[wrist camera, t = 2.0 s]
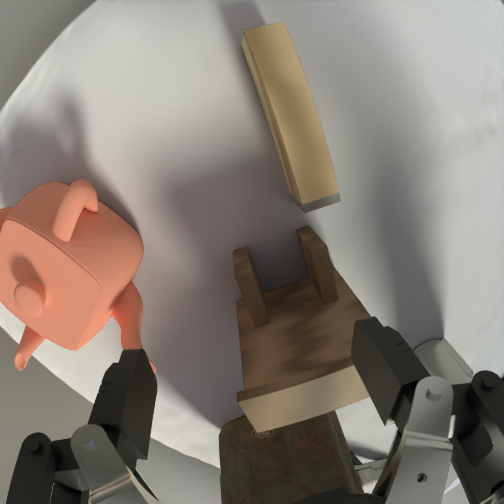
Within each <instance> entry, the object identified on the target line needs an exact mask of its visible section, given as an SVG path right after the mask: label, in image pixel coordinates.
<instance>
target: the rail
mask: <svg viewBox="0 0 504 504" xmlns="http://www.w3.org/2000/svg"><path fill="white" fill-rule="evenodd" d="M241 49H242V52H243V54H244V57H245V60H246V62H247V65H248V68H249V70H250V73H251V76H252V79H253V81H254V84H255V87H256V90H257V93H258V95H259V98H260V101H261V104H262V107H263V110H264V113H265V116H266V119H267V122H268V125H269V128H270V131H271V134H272V137H273V140H274V143H275V146H276V149H277V152H278V155H279V158H280V162H281V165H282V168H283V171H284V174H285V178H286V181H287V184H288V188H289V191H290V194H291V198H292V201H293V202H294V203H295V204H296V205H297V206H298V207H299V208H300V209H301V210H302V211H303V212H304V213H306V212H310V211H313V210H316V209H319V208H322V207H325V206H328V205H331V204H334V203H337V202H340V201H341V199H340V194H339V190H338V186H337V182H336V178H335V174H334V170H333V166H332V162H331V159H330V155H329V151H328V148H327V144H326V141H325V137H324V134H323V130H322V127H321V124H320V120H319V117H318V114H317V111H316V107H315V104H314V101H313V98H312V95H311V92H310V89H309V86H308V83H307V80H306V78H305V75H304V72H303V69H302V66H301V64H300V61H299V58H298V55H297V53H296V50H295V48H294V45H293V42H292V40H291V37H290V35H289V32H288V30H287V28H286V25H285V23H284V22H280V23H274V24H269V25H265V26H260V27H256V28H251V29H247V30H244V32H243V37H242V42H241Z"/></svg>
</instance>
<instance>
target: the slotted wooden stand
mask: <svg viewBox="0 0 504 504" xmlns="http://www.w3.org/2000/svg"><path fill="white" fill-rule="evenodd" d="M296 232H297V235H298V239H299V243H300V246H301V250H302V254H303V257H304V261H305V265H306V268H307V272H308V276H309V277H308V278H305V279H302V280H300V281H297V282H294V283H291V284H288V285H285V286H282V287H279V288H276V289H273V290H270V291H267V292H264V293H263V291H262V288H261V285H260V282H259V280H258V277H257V274H256V271H255V269H254V266H253V263H252V260H251V257H250V255H249V252H248V249H247V247H244V248H241V249H238V250H235V251H233V255H234V267H235V277H236V280H237V282H238V285H239V287H240V290H241V292H242V295H243V297H244V299H242V300H239V301H236V304H237V315H238V327H239V338H240V349H241V360H242V370H243V380H244V391H240V392H237V402H238V404H239V406H240V407H241V409H242V410H243V412H244V413H245V415H246V416H247V418H248V420H249V421H250V423H251V424H252V426H253V427H254V429H255V430H256V432H257V433H259V432H263V431H267V430H271V429H275V428H279V427H282V426H286V425H290V424H293V423H296V422H300V421H303V420H306V419H310V418H313V417H316V416H319V415H322V414H325V413H328V412H331V411H333V410H336V409H339V408H342V407H344V406H347V405H350V404H352V403H355V402H357V401H360V400H362V399H365V398H367V397H370V395H369V393H368V391H367V389H366V387H365V386H364V384H363V382H362V380H361V378H360V376H359V374H358V372H357V370H356V368H355V366H354V364H353V361H352V357H351V346H352V339H353V332H354V324H355V321H356V320H359V319H364V318H368V317H371V316H370V314H369V313H368V312H367V310H366V309H365V307H364V306H363V305H362V303H361V302H360V301H359V299H358V298H357V297H356V295H355V294H354V293H353V291H352V290H351V289H350V287H349V286H348V285H347V283H346V282H345V281H344V279H343V278H342V277H341V275H340V274H339V273H338V271H337V270H336V269H335V268H334V269H332V266H331V262H330V257H329V253H328V248H327V245H326V244H325V243H324V242H323V241H322V240H321V239H320V237H319V236H318V235H317V234H316V233H315V232H314V231H313V229H312V228H311V227H310V226H306V227H303V228H300V229H297V230H296Z"/></svg>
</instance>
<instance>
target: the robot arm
mask: <svg viewBox="0 0 504 504" xmlns="http://www.w3.org/2000/svg"><path fill="white" fill-rule="evenodd" d="M351 357H352V361H353V364H354V366H355V368H356V370H357V372H358V374H359V376H360V378H361V380H362V382H363V384H364V386H365V387H366V389H367V391H368V393H369V395H370V397H371V399H372V401H373V403H374V405H375V407H376V409H377V411H378V413H379V415H380V417H381V419H382V421H383V423H384V425H385V426H387V425H390V424H393V423H395V424H396V426H397V430H396V432H395V436H394V439H393V442H392V445H391V448H390V451H389V454H388V457H387V460H386V463H385V466H384V468H383V471H382V473H381V476H380V478H379V479H378V481H377V483H376V485H375V488H374V490H373V492H372V494H369V493H361V492H348V489H347V486H345V487H341V488H338V489H334V490H330V491H326V492H322V493H318V494H313V495H311V496H309V497H306V498H304V499H302V500H299V501H297V502H295V503H292V504H441V501H442V497H443V493H444V489H445V485H446V481H447V477H448V472H449V467H450V462H452V465H453V467H454V469H455V471H456V473H457V475H458V477H459V479H460V482H461V484H462V486H463V488H464V491H465V493H466V496H467V498H468V501H469V503H470V504H504V382H503V381H502V380H501V378H500V377H499V376H498V375H497V374H495V373H494V372H491V371H487V370H484V371H480V372H478V373H476V374H475V375H474V376H473V374H474V373H473V371H472V369H471V368H470V367H469V366H468V364H467V363H466V362H465V361H464V360H463V359H462V357H461V356H460V355H459V354H458V353H457V352H456V350H455V349H454V348H453V347H452V346H451V345H450V344H449V342H448V341H447V340H446V339H445V338H443V339H441V340H436V339H435V340H430V341H427V342H425V343H423V344H421V345H420V346H418V347H417V348H416V349H415V350H411V348H410V346H409V345H408V344H407V343H406V341H405V340H404V339H403V337H402V336H401V335H400V333H399V332H397V331H396V330H394V329H392V328H391V327H389V326H386V327H383V326H382V324H381V323H380V322H379V320H378V319H377V318H376V317H375V316H373V317H368V318H364V319H359V320H356V321H355V324H354V332H353V339H352V346H351ZM472 377H473V378H472ZM101 383H102V385H100V388H99V393H98V394H97V397H96V400H95V403H94V406H93V410H92V412H91V415H90V418H89V421H88V424H87V425H84V426H82V427H80V428H78V429H77V430H76V431H75V432H74V433H73V435H72V437H71V438H69V439H62V440H56V441H51V440H50V439H49V438H48V436H47V435H45V434H43V433H39V432H37V433H33V434H30V435H29V436H28V437H27V438H26V439H25V440H24V441H23V443H22V446H21V449H20V452H19V455H18V459H17V462H16V465H15V469H14V472H13V476H12V480H11V484H10V488H9V492H8V496H7V501H6V504H88V499H89V498H90V501H91V503H92V504H163V503H162V502H161V500H160V499H159V498H158V497H157V495H156V494H155V493H154V492H153V490H152V489H151V487H150V486H149V485H148V483H147V482H146V481H145V479H144V478H143V477H142V475H141V474H140V472H139V471H138V470H137V468H136V461H137V459H145V460H147V456H148V449H149V441H150V434H151V427H152V420H153V413H154V407H155V401H156V395H157V380H156V376H155V374H154V372H153V369H152V367H151V365H150V362H149V360H148V358H147V355H146V353H145V351H144V349H124V350H123V351H122V354H121V357H120V360H119V363H113V364H112V365H111V366H110V367H109V368H108V369H107V371H106V372H105V374H104V377H103V380H102V382H101ZM492 442H493V443H492ZM53 483H54V485H53ZM52 486H53V490H52ZM89 490H91V491H92V495H90V496H89ZM51 492H52V496H51ZM50 497H51V502H50Z"/></svg>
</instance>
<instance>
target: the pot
mask: <svg viewBox="0 0 504 504" xmlns="http://www.w3.org/2000/svg"><path fill="white" fill-rule="evenodd" d="M143 252H144V246H143V242H142V239H141V237H140V236H139V234H138V233H137V232H136V231H135V230H134V229H133V228H132V227H131V226H130V225H129V224H128V223H127V222H126V221H124V220H123V219H122V218H121V217H120V216H119V215H117V214H116V213H115V212H114V211H113V210H111V209H110V208H109V207H107V206H106V205H105V204H103V203H102V202H100V201H99V200H98V199H97V193H96V191H95V188H94V187H93V185H92V184H91V183H89V182H88V181H86V180H82V179H79V180H76V181H74V182H73V183H72V184H71V185H70V186H69V185H66V184H64V183H61V182H47V183H44V184H42V185H40V186H38V187H37V188H35V189H34V190H32V191H31V192H29V193H28V194H27V195H25V196H24V197H23V198H22V199H21V200H20V201H19V202H18V203H17V204H16V206H15V207H7V208H3V209H0V302H1V303H2V304H3V305H4V306H5V307H6V308H7V309H8V310H9V311H10V312H11V313H13V314H14V315H15V316H16V317H17V318H18V319H20V320H21V321H22V322H23V323H24V324H26V327H25V330H24V333H23V336H22V339H21V341H20V344H19V346H18V349H17V351H16V354H15V366H16V368H17V369H18V370H23V369H24V368H25V366H26V364H27V362H28V360H29V358H30V356H31V355H32V353H33V352H34V351H35V349H36V348H37V347H38V346H39V345H40V344H41V343H42V342H43V341H44V340H45V339H46V338H47V339H48V340H50V341H52V342H54V343H55V344H57V345H59V346H61V347H64V348H66V349H69V350H74V351H75V350H78V349H79V348H81V347H82V346H83V345H85V344H86V343H87V342H88V341H89V340H91V339H92V338H93V337H94V336H95V335H96V334H97V333H98V332H99V331H100V330H101V329H102V328H103V327H104V325H105V324H106V323H107V321H108V320H109V318H110V317H111V315H112V316H113V317H114V318H115V320H116V321H117V322H118V324H119V325H120V328H121V344H122V347H123V350H124V349H143V348H142V346H141V340H140V330H141V323H142V316H143V303H142V299H141V296H140V294H139V292H138V290H137V288H136V287H135V285H134V284H133V282H132V280H133V278H134V276H135V274H136V271H137V269H138V267H139V265H140V262H141V260H142V257H143ZM147 358H148V356H147ZM148 360H149V362H150V365H151V367H152V369H153V372H154V373H155V372H156V368H155V366H154V364H153V363H152V362H151V360H150V359H149V358H148Z"/></svg>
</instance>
